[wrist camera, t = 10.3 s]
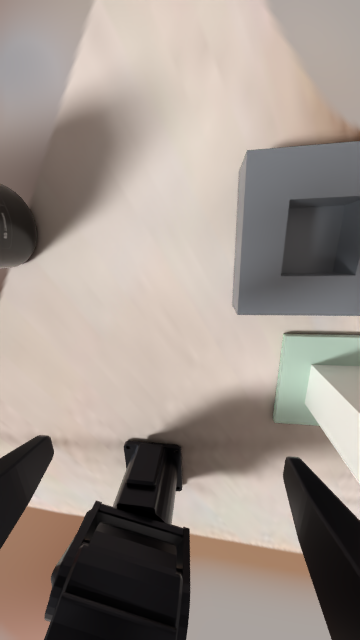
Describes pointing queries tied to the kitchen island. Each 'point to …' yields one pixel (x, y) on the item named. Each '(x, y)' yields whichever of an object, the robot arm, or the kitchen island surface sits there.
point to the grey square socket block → (298, 231)
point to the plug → (337, 409)
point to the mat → (308, 370)
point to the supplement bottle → (15, 229)
